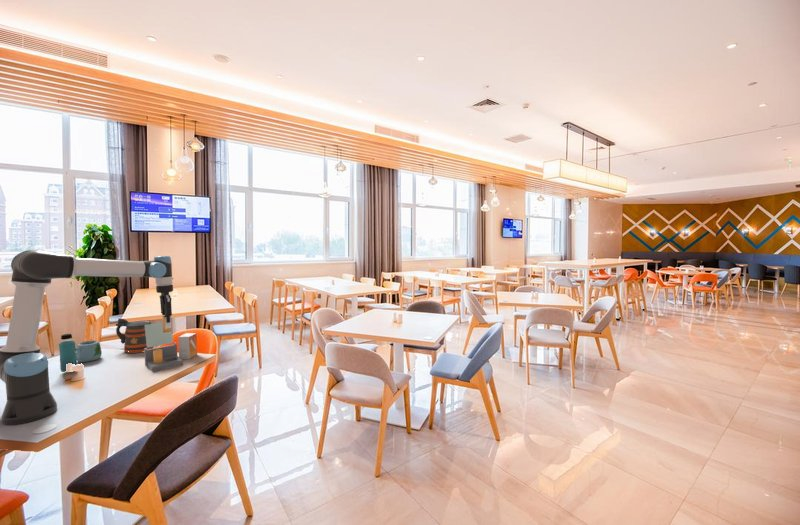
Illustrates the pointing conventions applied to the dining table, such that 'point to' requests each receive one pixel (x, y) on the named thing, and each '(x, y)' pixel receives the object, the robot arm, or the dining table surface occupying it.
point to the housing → (162, 357)
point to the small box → (187, 345)
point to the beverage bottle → (67, 352)
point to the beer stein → (133, 335)
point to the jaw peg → (164, 325)
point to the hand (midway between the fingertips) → (167, 327)
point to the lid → (157, 335)
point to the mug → (88, 351)
